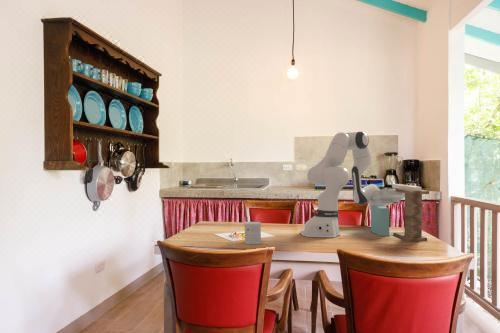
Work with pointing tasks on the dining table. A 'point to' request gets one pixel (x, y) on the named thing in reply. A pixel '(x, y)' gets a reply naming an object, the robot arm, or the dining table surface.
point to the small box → (252, 232)
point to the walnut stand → (412, 216)
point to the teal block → (380, 220)
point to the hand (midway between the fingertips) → (394, 188)
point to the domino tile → (406, 187)
